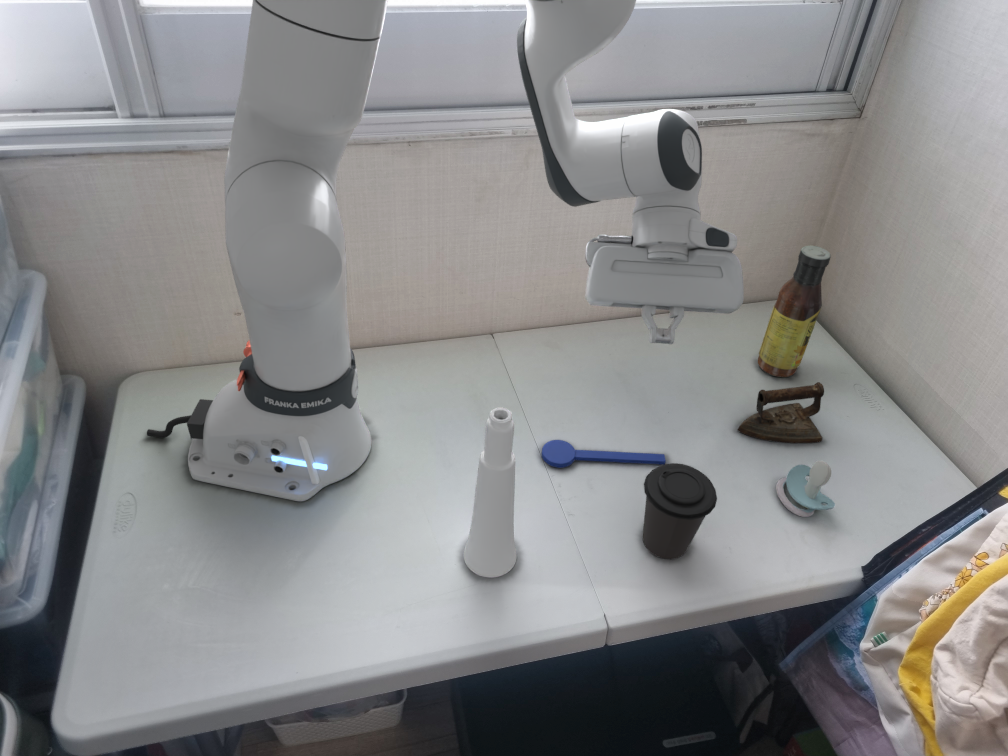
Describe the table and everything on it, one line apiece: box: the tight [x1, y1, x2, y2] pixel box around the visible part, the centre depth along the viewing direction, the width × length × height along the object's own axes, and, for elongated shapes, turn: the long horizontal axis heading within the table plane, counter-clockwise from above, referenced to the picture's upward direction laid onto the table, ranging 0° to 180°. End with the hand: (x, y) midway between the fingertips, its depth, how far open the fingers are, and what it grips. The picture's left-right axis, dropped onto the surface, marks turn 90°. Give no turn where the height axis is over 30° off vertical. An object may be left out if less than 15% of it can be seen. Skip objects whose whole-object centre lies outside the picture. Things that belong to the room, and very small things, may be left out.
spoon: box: [541, 439, 667, 469], centre depth 100 cm, size 16×4×1 cm, turn 90°
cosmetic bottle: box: [463, 406, 518, 579], centre depth 80 cm, size 6×6×22 cm
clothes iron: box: [736, 381, 825, 444], centre depth 104 cm, size 7×11×10 cm, turn 101°
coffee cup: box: [642, 462, 718, 560], centre depth 87 cm, size 8×8×10 cm
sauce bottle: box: [757, 245, 832, 378], centre depth 111 cm, size 6×6×20 cm
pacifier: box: [775, 460, 836, 518], centre depth 95 cm, size 7×6×6 cm
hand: (661, 343), depth 99 cm, fingers closed
